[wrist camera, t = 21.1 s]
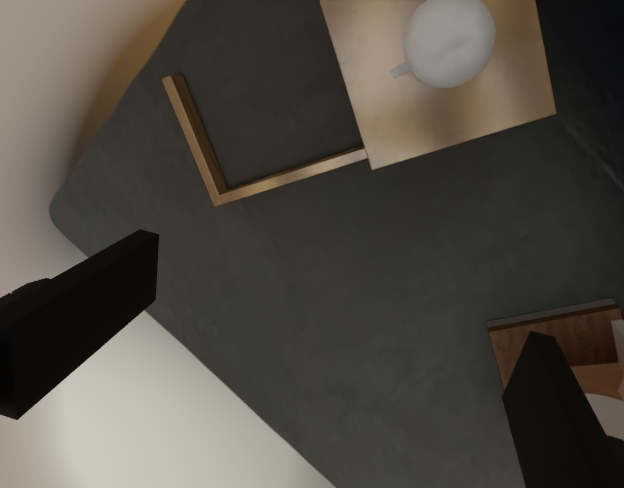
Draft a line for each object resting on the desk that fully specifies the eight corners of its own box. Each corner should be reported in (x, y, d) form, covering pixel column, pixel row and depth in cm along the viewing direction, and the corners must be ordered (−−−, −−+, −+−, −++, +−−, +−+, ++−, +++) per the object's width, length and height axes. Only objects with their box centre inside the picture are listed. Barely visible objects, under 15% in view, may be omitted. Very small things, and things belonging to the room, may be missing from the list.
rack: (493, -60, 35) (516, -100, 27) (527, 105, 39) (557, 113, 31) (174, 77, 44) (119, 78, 36) (224, 201, 48) (184, 228, 40)
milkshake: (384, 44, 31) (370, 31, 22) (457, -4, 29) (476, -39, 20) (414, 103, 32) (413, 115, 23) (487, 61, 30) (518, 56, 21)
